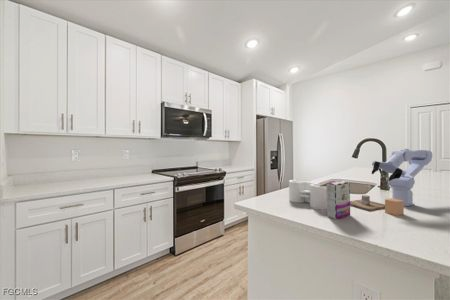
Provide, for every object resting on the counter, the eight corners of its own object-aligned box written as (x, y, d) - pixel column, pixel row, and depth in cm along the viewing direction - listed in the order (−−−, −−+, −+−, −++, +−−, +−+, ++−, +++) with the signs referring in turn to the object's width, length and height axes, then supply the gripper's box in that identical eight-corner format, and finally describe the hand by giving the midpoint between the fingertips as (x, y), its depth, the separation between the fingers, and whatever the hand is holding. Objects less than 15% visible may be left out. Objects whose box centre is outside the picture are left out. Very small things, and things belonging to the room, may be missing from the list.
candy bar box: (340, 212, 102) (340, 180, 102) (350, 215, 98) (350, 181, 97) (326, 216, 97) (326, 182, 97) (336, 219, 93) (335, 184, 92)
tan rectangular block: (391, 211, 103) (391, 198, 103) (403, 214, 98) (403, 200, 98) (384, 212, 101) (385, 199, 101) (396, 215, 97) (396, 202, 96)
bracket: (285, 200, 126) (285, 181, 126) (295, 197, 132) (295, 179, 131) (324, 210, 106) (324, 187, 105) (333, 207, 111) (333, 185, 111)
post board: (363, 200, 122) (363, 191, 122) (388, 207, 109) (388, 197, 109) (344, 203, 117) (343, 194, 117) (368, 211, 104) (368, 200, 103)
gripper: (379, 152, 113) (366, 163, 108) (411, 162, 102) (399, 175, 97) (376, 162, 117) (364, 174, 111) (407, 173, 106) (396, 186, 100)
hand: (380, 175), depth 104 cm, fingers open, 7 cm apart
